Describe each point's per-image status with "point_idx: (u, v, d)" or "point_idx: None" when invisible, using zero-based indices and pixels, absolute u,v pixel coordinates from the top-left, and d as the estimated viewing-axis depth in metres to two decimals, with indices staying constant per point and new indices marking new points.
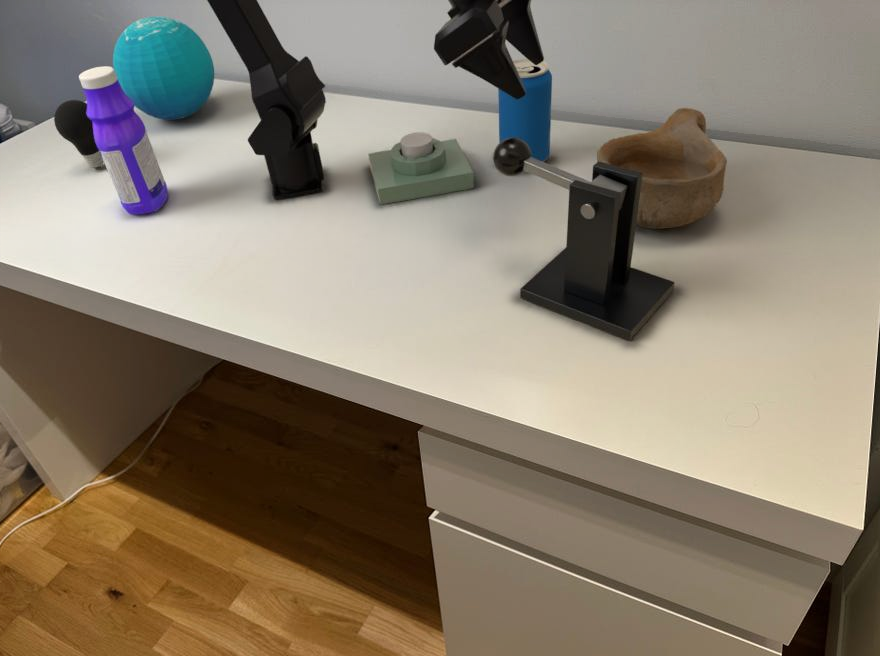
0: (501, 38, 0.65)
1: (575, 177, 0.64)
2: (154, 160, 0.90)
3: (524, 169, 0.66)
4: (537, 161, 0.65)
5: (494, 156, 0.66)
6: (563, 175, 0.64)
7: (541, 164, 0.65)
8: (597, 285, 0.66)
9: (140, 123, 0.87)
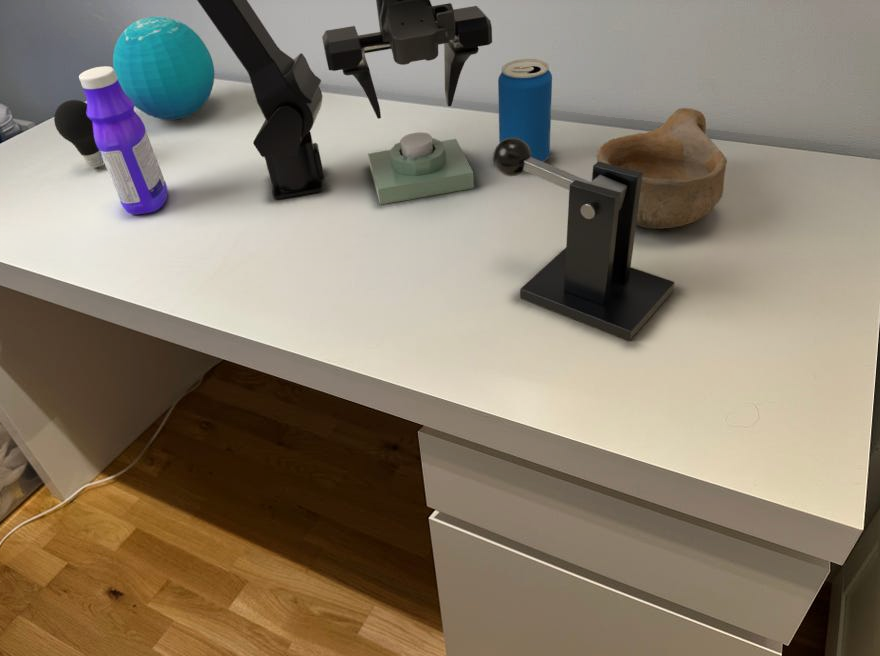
0: (353, 75, 0.79)
1: (575, 177, 0.64)
2: (154, 160, 0.90)
3: (524, 169, 0.66)
4: (537, 161, 0.65)
5: (494, 156, 0.66)
6: (563, 175, 0.64)
7: (541, 164, 0.65)
8: (597, 285, 0.66)
9: (140, 123, 0.87)
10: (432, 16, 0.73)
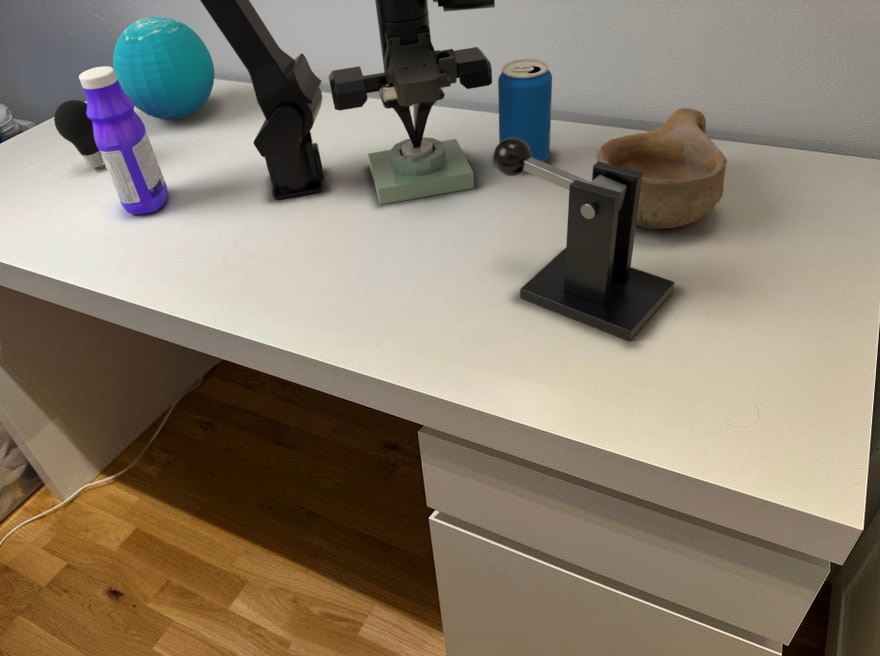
0: (393, 108, 0.82)
1: (575, 177, 0.64)
2: (154, 160, 0.90)
3: (524, 169, 0.66)
4: (537, 161, 0.65)
5: (494, 156, 0.66)
6: (563, 175, 0.64)
7: (541, 164, 0.65)
8: (597, 285, 0.66)
9: (140, 123, 0.87)
10: (435, 61, 0.76)
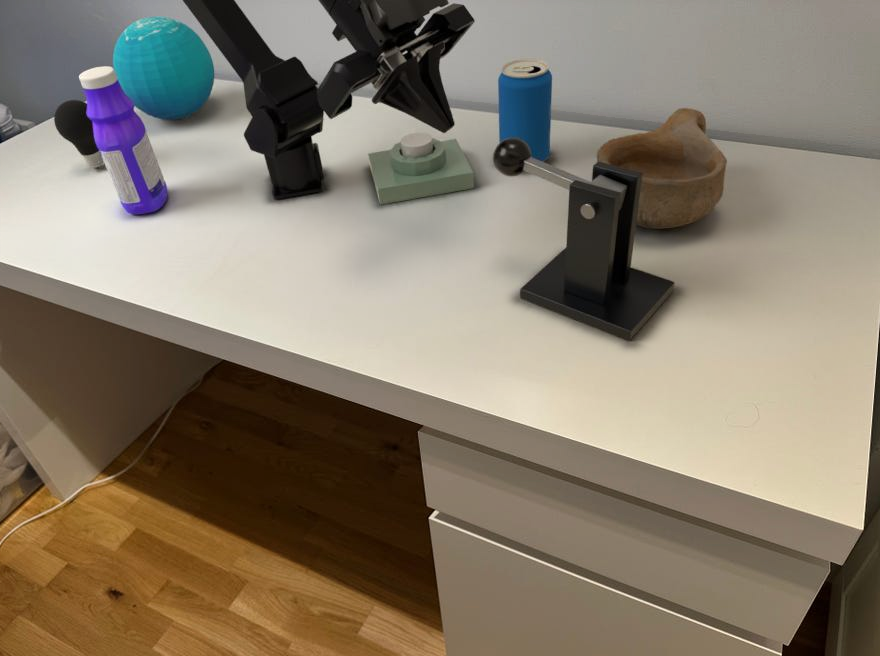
0: (405, 73, 0.66)
1: (575, 177, 0.64)
2: (154, 160, 0.90)
3: (524, 169, 0.66)
4: (537, 161, 0.65)
5: (494, 156, 0.66)
6: (563, 175, 0.64)
7: (541, 164, 0.65)
8: (597, 285, 0.66)
9: (140, 123, 0.87)
10: None
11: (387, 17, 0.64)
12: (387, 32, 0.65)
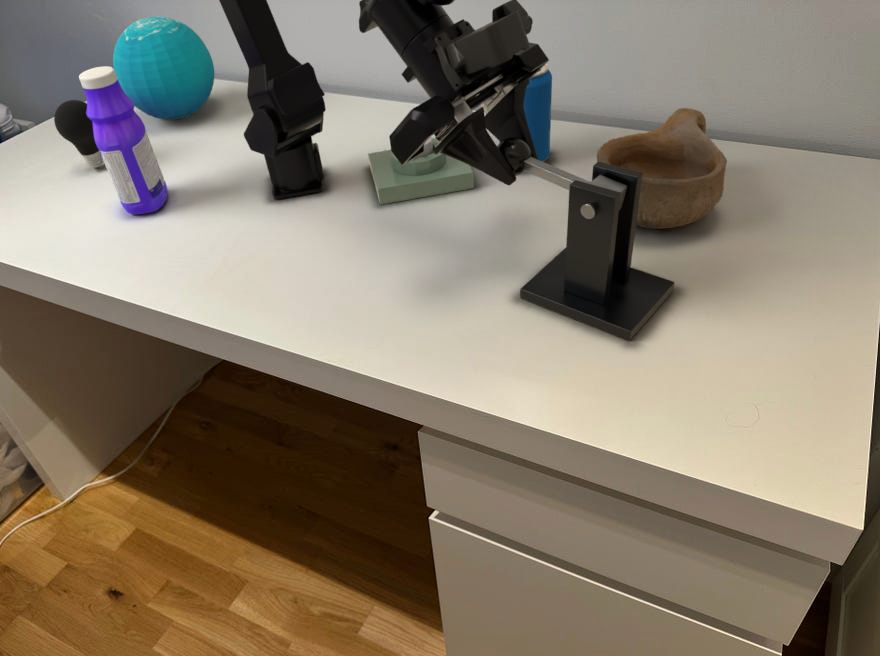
0: (471, 125, 0.62)
1: (575, 177, 0.64)
2: (154, 160, 0.90)
3: (524, 169, 0.66)
4: (537, 161, 0.65)
5: None
6: (563, 175, 0.64)
7: (541, 164, 0.65)
8: (597, 285, 0.66)
9: (140, 123, 0.87)
10: (497, 19, 0.62)
11: (466, 61, 0.61)
12: (464, 76, 0.62)
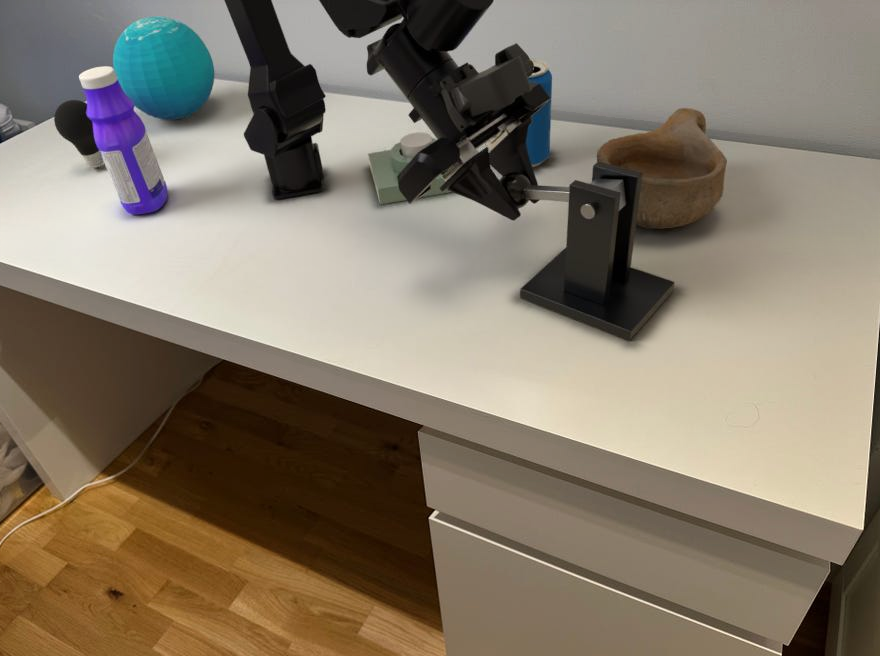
0: (476, 165, 0.65)
1: None
2: (154, 160, 0.90)
3: (526, 197, 0.68)
4: (536, 186, 0.67)
5: None
6: (561, 190, 0.65)
7: (540, 187, 0.67)
8: (597, 285, 0.66)
9: (140, 123, 0.87)
10: (500, 63, 0.64)
11: (470, 104, 0.63)
12: (469, 118, 0.64)
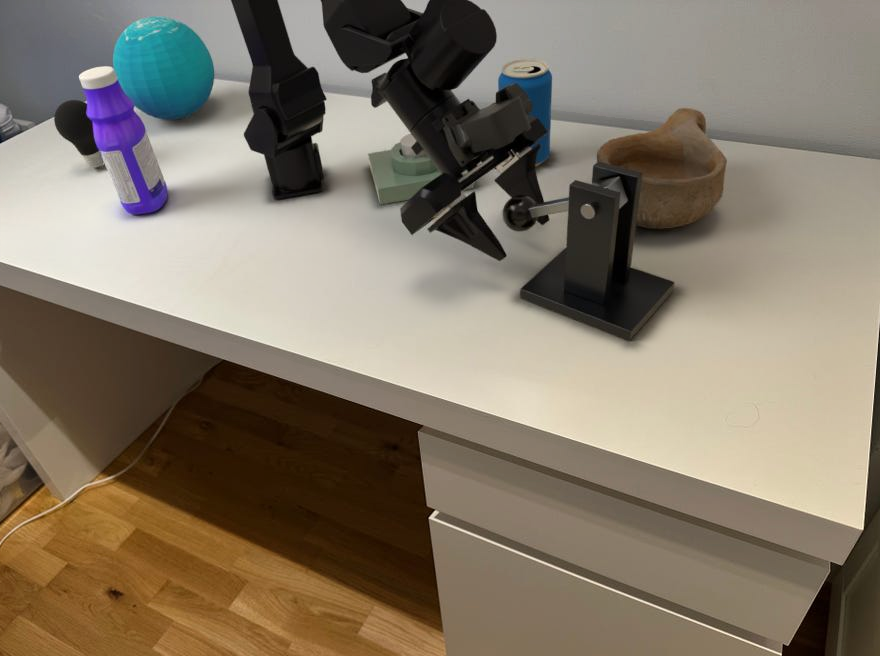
0: (463, 209, 0.66)
1: None
2: (154, 160, 0.90)
3: (532, 216, 0.69)
4: (540, 203, 0.68)
5: (503, 219, 0.70)
6: (563, 200, 0.65)
7: (544, 203, 0.68)
8: (597, 285, 0.66)
9: (140, 123, 0.87)
10: (500, 102, 0.67)
11: (471, 141, 0.66)
12: (469, 154, 0.67)
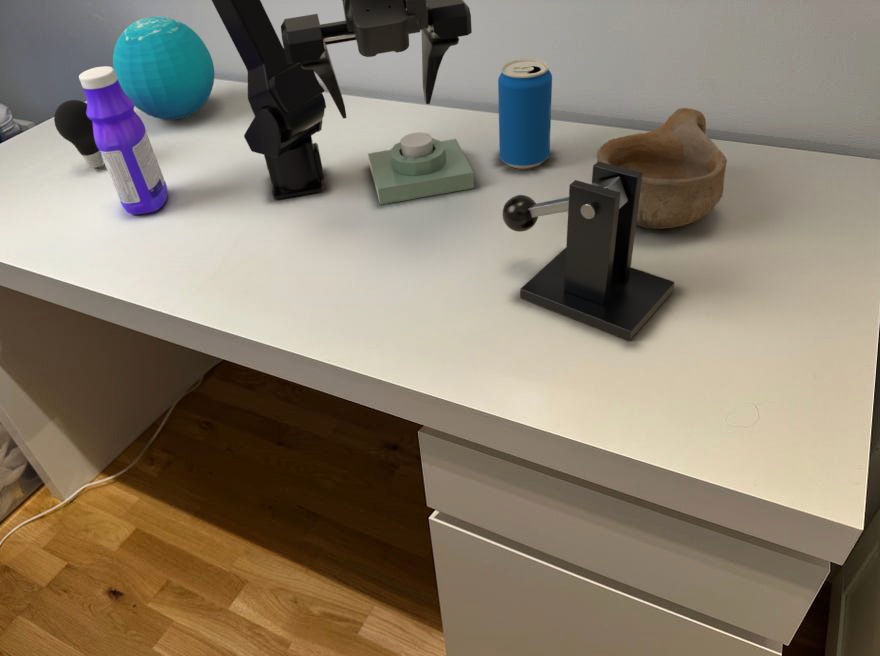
0: (313, 70, 0.70)
1: None
2: (154, 160, 0.90)
3: (532, 216, 0.69)
4: (540, 203, 0.68)
5: (503, 219, 0.70)
6: (563, 200, 0.65)
7: (544, 203, 0.68)
8: (597, 285, 0.66)
9: (140, 123, 0.87)
10: (401, 2, 0.64)
11: (352, 21, 0.66)
12: (354, 25, 0.67)
